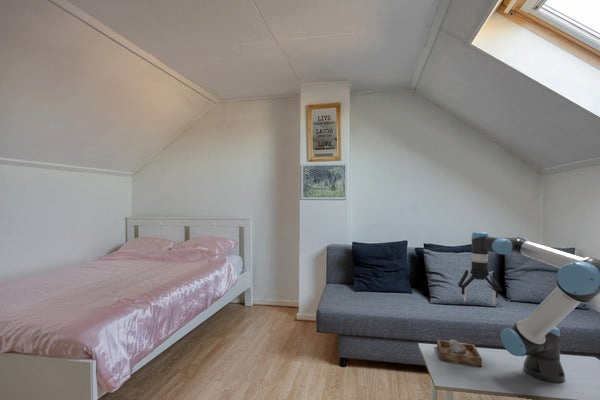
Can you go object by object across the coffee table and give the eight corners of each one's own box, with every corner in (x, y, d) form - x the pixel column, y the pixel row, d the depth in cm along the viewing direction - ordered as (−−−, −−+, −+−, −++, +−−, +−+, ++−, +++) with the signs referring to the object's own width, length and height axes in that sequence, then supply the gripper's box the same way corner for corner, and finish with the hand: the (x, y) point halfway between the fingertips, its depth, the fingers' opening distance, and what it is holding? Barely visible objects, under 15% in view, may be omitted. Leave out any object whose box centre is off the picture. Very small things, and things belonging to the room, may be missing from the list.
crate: (474, 352, 165) (474, 344, 166) (481, 367, 150) (481, 358, 150) (436, 346, 171) (437, 339, 171) (440, 360, 156) (440, 352, 156)
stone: (442, 349, 166) (442, 338, 166) (457, 348, 167) (457, 337, 167) (453, 358, 156) (453, 346, 156) (468, 357, 157) (468, 346, 157)
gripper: (504, 262, 164) (504, 302, 164) (452, 258, 172) (451, 297, 172) (509, 264, 157) (509, 307, 157) (454, 260, 165) (454, 301, 164)
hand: (479, 302), depth 164 cm, fingers open, 13 cm apart
